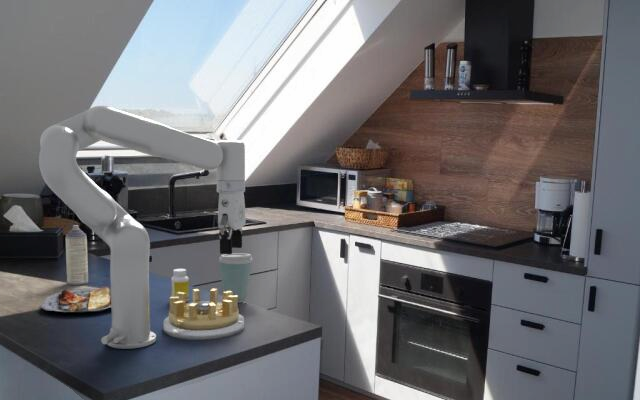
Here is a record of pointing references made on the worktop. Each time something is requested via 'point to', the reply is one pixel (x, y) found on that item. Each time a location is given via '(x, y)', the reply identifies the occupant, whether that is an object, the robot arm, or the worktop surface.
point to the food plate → (79, 300)
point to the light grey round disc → (203, 331)
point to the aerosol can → (76, 257)
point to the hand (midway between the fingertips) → (231, 250)
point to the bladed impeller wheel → (203, 311)
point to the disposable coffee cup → (236, 273)
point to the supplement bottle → (180, 283)
